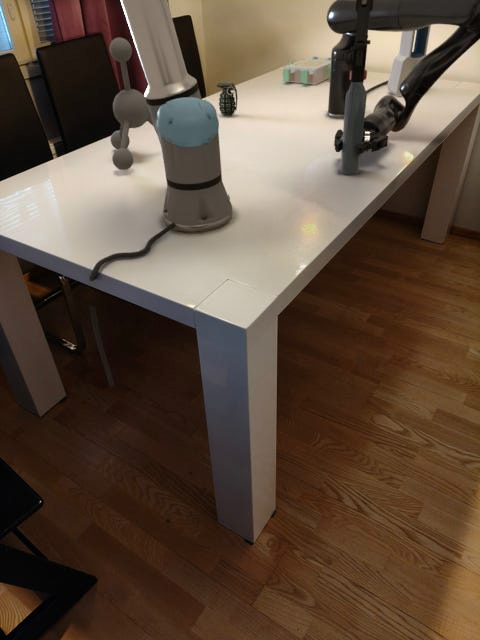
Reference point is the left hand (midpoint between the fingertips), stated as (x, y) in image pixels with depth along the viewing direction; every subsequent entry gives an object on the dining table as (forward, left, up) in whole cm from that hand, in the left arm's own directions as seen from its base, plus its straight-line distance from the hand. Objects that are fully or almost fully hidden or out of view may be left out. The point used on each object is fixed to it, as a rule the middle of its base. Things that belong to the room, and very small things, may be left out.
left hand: (357, 79), depth 111 cm
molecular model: (-9, +57, -22) cm, 62 cm away
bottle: (0, 0, -22) cm, 22 cm away
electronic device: (+82, +5, -22) cm, 85 cm away
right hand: (-3, 0, -15) cm, 15 cm away
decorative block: (+94, +48, -22) cm, 107 cm away
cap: (0, 0, +1) cm, 1 cm away
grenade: (+34, +55, -22) cm, 68 cm away
